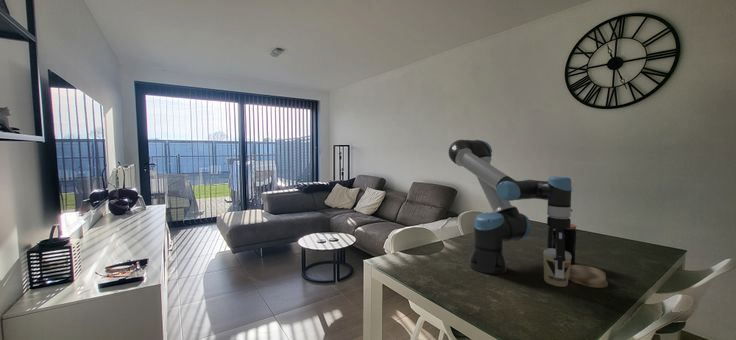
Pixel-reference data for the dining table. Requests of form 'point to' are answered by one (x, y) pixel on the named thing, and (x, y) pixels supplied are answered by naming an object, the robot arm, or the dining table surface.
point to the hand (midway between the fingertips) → (557, 271)
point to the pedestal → (588, 276)
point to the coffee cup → (550, 267)
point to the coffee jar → (566, 240)
